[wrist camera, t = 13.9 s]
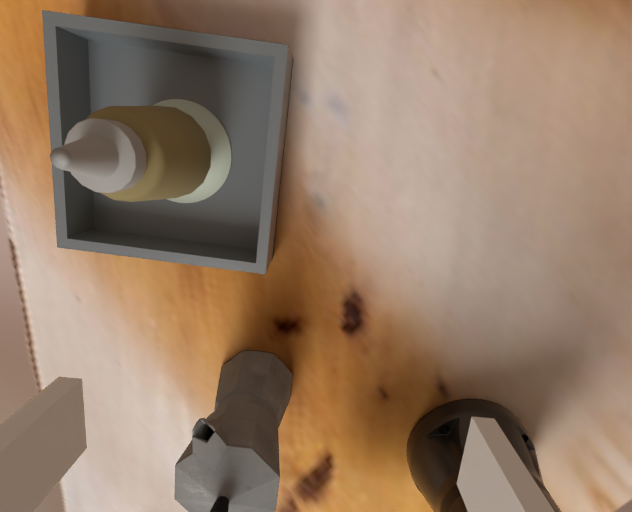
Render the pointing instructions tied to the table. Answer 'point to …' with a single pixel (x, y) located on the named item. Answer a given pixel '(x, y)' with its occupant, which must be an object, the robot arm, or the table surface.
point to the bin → (195, 100)
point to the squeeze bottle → (136, 153)
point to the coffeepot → (237, 440)
